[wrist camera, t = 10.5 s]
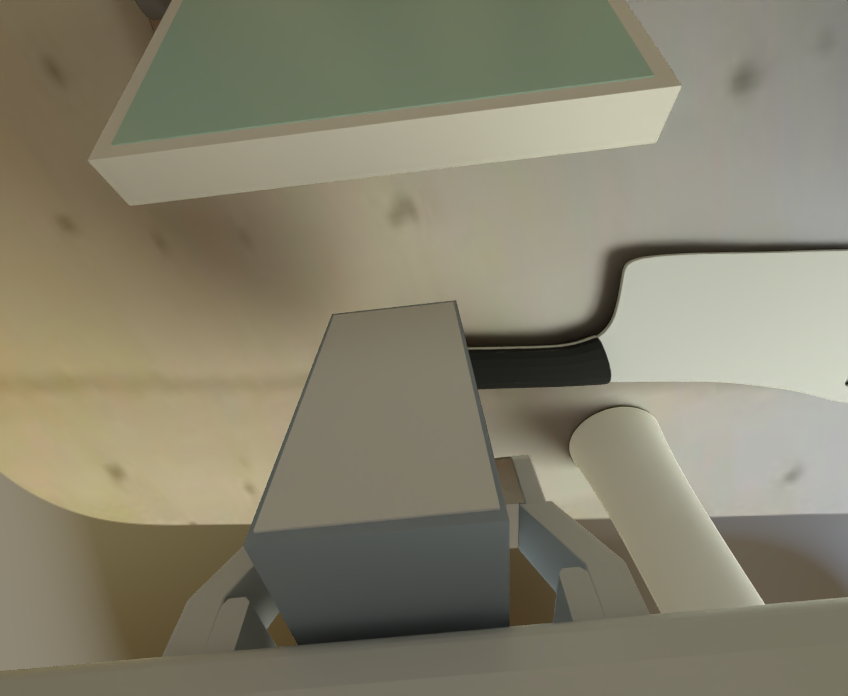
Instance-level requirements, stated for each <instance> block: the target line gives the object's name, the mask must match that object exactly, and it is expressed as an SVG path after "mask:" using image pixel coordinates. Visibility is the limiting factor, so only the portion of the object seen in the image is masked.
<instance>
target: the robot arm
mask: <svg viewBox="0 0 848 696" xmlns="http://www.w3.org/2000/svg"><path fill="white" fill-rule="evenodd" d="M494 459H495V463H496V467H497V471H498V475H499V480H500V484H501V488H502V492H503V496H504V500H505V504H506V508H507V513H508V517H509V548H519V550H520V551H521V552H522V553H523V555H524V556H525V557H526V558H527V559H528V560H529V561H530V563H531V564H532V565H533V566H534V567H535V569H536V570H537V571H538V572H539V573H540V574H541V576H542V577H543V578H544V579H545V580H546V581H547V583H548V584H549V585H550V586H551V587H552V588H553V589H554V591H555V592H556V593H557V595H556V604H555V612H554V621H553V623H548V624H536V625H525V626H513V627H502V628H490V629H479V630H467V631H456V632H444V633H432V634H421V635H410V636H398V637H387V638H375V639H364V640H353V641H341V642H330V643H319V644H307V645H297V646H284V647H277V646H276V644H275V643H274V641H273V639H272V638H271V636H270V635H269V633H268V631H267V628H268V627H269V625H270V624H271V622H272V621H273V620H274V618H275V617H276V615H277V614H278V612H279V610H278V608H277V606H276V604H275V602H274V601H273V599H272V597H271V595H270V593H269V592H268V590H267V588H266V586H265V584H264V583H263V581H262V579H261V577H260V575H259V574H258V572H257V570H256V568H255V566H254V565H253V563H252V561H251V559H250V557H249V556H248V554H247V552H246V550H245V548H244V547H242V548H241V549H240V550H239V551H238V552H237V553H236V554H235V555H234V556H233V557H232V558H231V559H230V560H229V561H228V562H226V563H225V564H224V565H223V566H222V567H221V568H220V569H219V570H218V571H217V572H216V573H215V574H214V575H213V576H212V577H211V578H210V579H209V580H208V581H207V582H206V583H205V584H204V585H203V586H202V587H201V588H200V589H199V590H198V591H197V592H196V593H195V594H194V595H193V596H192V597H191V598H190V599H189V600H188V601H187V603H186V605H185V608H184V610H183V612H182V614H181V616H180V618H179V621H178V623H177V625H176V627H175V629H174V631H173V634H172V636H171V638H170V640H169V642H168V644H167V647H166V649H165V651H164V653H163V655H162V657H159V658H146V659H135V660H124V661H112V662H101V663H88V664H77V665H65V666H53V667H42V668H30V669H18V670H7V671H0V696H848V597H846V598H834V599H823V600H812V601H801V602H789V603H777V604H766V605H754V606H743V607H731V608H720V609H708V610H697V611H685V612H674V613H663V614H651V615H650V613H649V611H648V609H647V607H646V605H645V603H644V601H643V599H642V597H641V595H640V592H639V590H638V588H637V586H636V584H635V582H634V580H633V578H632V576H631V574H630V572H629V569H628V567H627V565H626V563H625V561H624V560H622V559H621V558H620V557H619V556H618V555H616V554H615V553H614V552H613V551H611V550H610V549H609V548H608V547H607V546H605V545H604V544H603V543H602V542H600V541H599V540H598V539H597V538H596V537H594V536H593V535H592V534H591V533H589V532H588V531H587V530H586V529H584V528H583V527H582V526H581V525H580V524H579V523H577V522H576V521H575V520H574V519H572V518H571V517H570V516H569V515H568V514H566V513H565V512H564V511H563V510H561V509H560V508H559V507H558V506H557V505H555V504H554V503H553V502H552V501H546V500H545V497H544V494H543V492H542V489H541V486H540V483H539V480H538V477H537V475H536V472H535V469H534V466H533V463H532V460H531V458H530V456H529V455H521V456H511V457H501V458H494Z"/></svg>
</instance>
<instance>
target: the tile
mask: <svg viewBox="0 0 848 696" xmlns="http://www.w3.org/2000/svg"><path fill="white" fill-rule="evenodd" d="M681 87H682V85H681V83H680V82H679V80H678V79H677V77H676V76H675V74H674V73H673V71H672V70H671V68H670V67H669V65H668V64H667V62H666V61H665V59H664V58H663V56H662V55H661V53H660V52H659V50H658V49H657V47H656V46H655V44H654V43H653V41H652V40H651V38H650V37H649V35H648V34H647V32H646V31H645V30H644V28H643V27H642V25H641V24H640V22H639V21H638V19H637V18H636V16H635V15H634V13H633V12H632V10H631V9H630V7H629V6H628V4H627V3H626V1H625V0H172V1H171V3H170V5H169V7H168V9H167V10H166V12H165V14H164V16H163V18H162V20H161V22H160V24H159V26H158V27H157V29H156V31H155V33H154V35H153V37H152V39H151V41H150V43H149V45H148V46H147V48H146V50H145V52H144V54H143V56H142V58H141V60H140V62H139V63H138V65H137V67H136V69H135V71H134V73H133V75H132V77H131V79H130V80H129V82H128V84H127V86H126V88H125V90H124V92H123V94H122V96H121V98H120V99H119V101H118V103H117V105H116V107H115V109H114V111H113V113H112V115H111V116H110V118H109V120H108V122H107V124H106V126H105V128H104V130H103V132H102V133H101V135H100V137H99V139H98V141H97V143H96V145H95V147H94V149H93V151H92V152H91V154H90V156H89V158H88V160H87V161H88V162H89V163H90V164H91V165H92V166H93V167H94V168H95V169H96V170H97V171H98V173H99V174H100V175H101V176H102V177H103V178H104V179H105V180H106V181H107V182H108V183H109V184H110V185H111V187H112V188H113V189H114V190H115V191H116V192H117V193H118V194H119V195H120V196H121V197H122V198H123V199H124V201H125V202H126V203H127V204H128V205H129V206H135V205H143V204H151V203H160V202H168V201H176V200H185V199H193V198H201V197H210V196H218V195H226V194H235V193H243V192H251V191H260V190H268V189H276V188H285V187H293V186H302V185H310V184H318V183H327V182H335V181H343V180H352V179H360V178H368V177H377V176H385V175H393V174H402V173H410V172H418V171H427V170H435V169H443V168H452V167H460V166H468V165H477V164H485V163H494V162H502V161H510V160H519V159H527V158H535V157H544V156H552V155H560V154H569V153H577V152H585V151H594V150H602V149H610V148H619V147H627V146H635V145H644V144H652V143H656V142H657V140H658V138H659V135H660V133H661V131H662V129H663V127H664V124H665V122H666V120H667V118H668V116H669V113H670V111H671V109H672V107H673V104H674V102H675V100H676V98H677V96H678V93H679V91H680V89H681Z"/></svg>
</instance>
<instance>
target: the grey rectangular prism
mask: <svg viewBox="0 0 848 696" xmlns="http://www.w3.org/2000/svg"><path fill="white" fill-rule="evenodd" d="M243 547H244V548H245V550H246V552H247V554H248V556H249V557H250V559H251V561H252V563H253V565H254V566H255V568H256V570H257V572H258V574H259V575H260V577H261V579H262V581H263V583H264V584H265V586H266V588H267V590H268V592H269V593H270V595H271V597H272V599H273V601H274V602H275V604H276V606H277V608H278V610H279V611H280V613H281V615H282V617H283V619H284V620H285V622H286V624H287V626H288V627H289V629H290V631H291V633H292V635H293V636H294V638H295V640H296V642H297V644H298V645H307V644H319V643H330V642H341V641H353V640H364V639H375V638H387V637H398V636H410V635H421V634H432V633H444V632H456V631H467V630H479V629H490V628H502V627H509V517H508V513H507V508H506V504H505V500H504V496H503V492H502V488H501V484H500V480H499V475H498V471H497V467H496V463H495V459H494V455H493V451H492V447H491V443H490V438H489V434H488V430H487V426H486V422H485V418H484V414H483V410H482V405H481V401H480V397H479V393H478V389H477V385H476V381H475V377H474V372H473V368H472V364H471V360H470V356H469V352H468V348H467V344H466V340H465V335H464V331H463V327H462V323H461V319H460V315H459V311H458V307H457V302H456V300H455V301H446V302H437V303H428V304H419V305H410V306H401V307H392V308H383V309H374V310H366V311H357V312H348V313H339V314H332V316H331V319H330V321H329V324H328V326H327V329H326V332H325V334H324V337H323V339H322V342H321V345H320V347H319V350H318V352H317V355H316V358H315V360H314V363H313V365H312V368H311V371H310V373H309V376H308V378H307V381H306V384H305V386H304V389H303V392H302V394H301V397H300V399H299V402H298V405H297V407H296V410H295V412H294V415H293V418H292V420H291V423H290V425H289V428H288V431H287V433H286V436H285V438H284V441H283V444H282V446H281V449H280V451H279V454H278V457H277V459H276V462H275V464H274V467H273V470H272V472H271V475H270V477H269V480H268V483H267V485H266V488H265V490H264V493H263V496H262V498H261V501H260V503H259V506H258V509H257V511H256V514H255V516H254V519H253V522H252V524H251V527H250V530H249V532H248V535H247V538H246V540H245V542H244V545H243Z"/></svg>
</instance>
